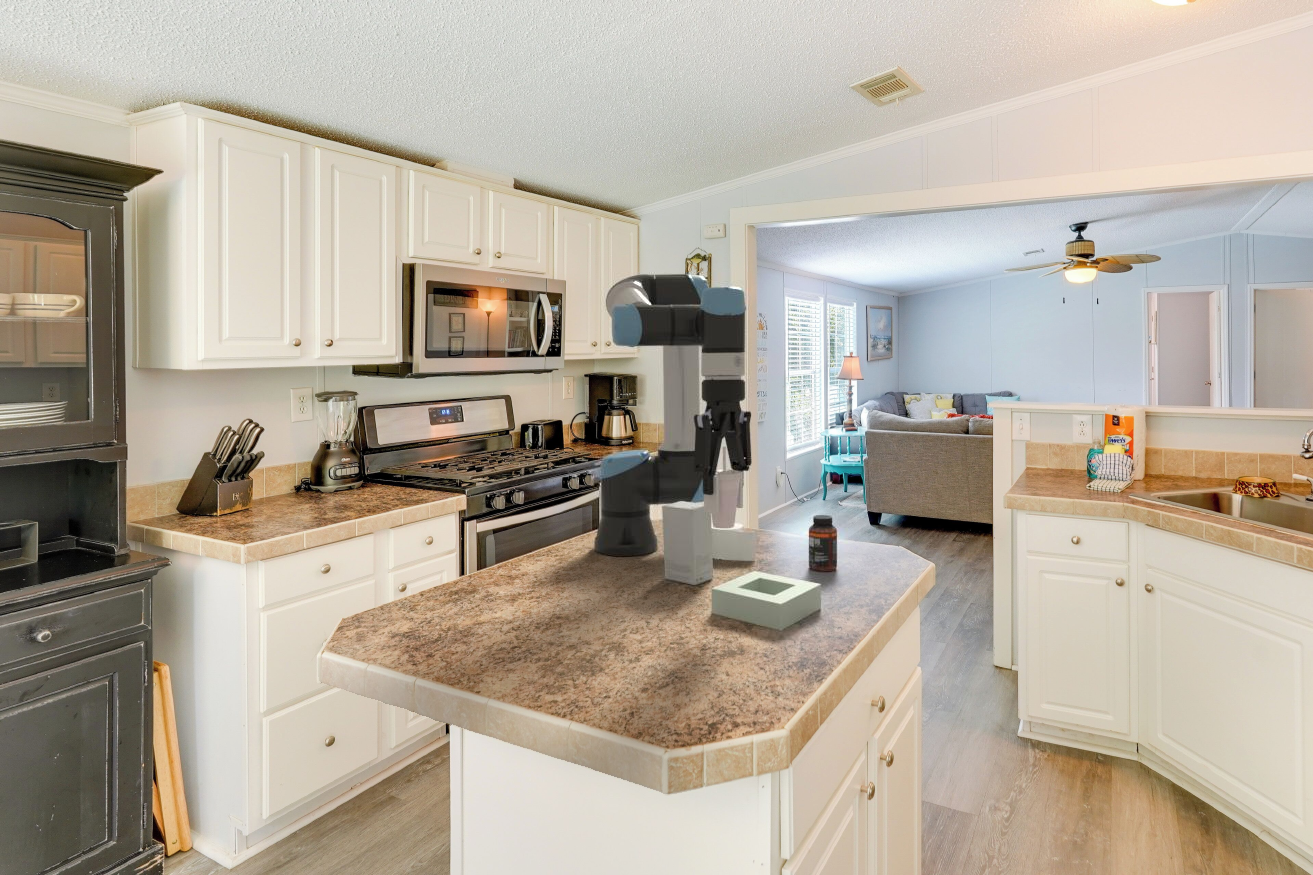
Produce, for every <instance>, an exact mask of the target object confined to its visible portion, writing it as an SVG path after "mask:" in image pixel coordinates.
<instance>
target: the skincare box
mask: <svg viewBox="0 0 1313 875" xmlns="http://www.w3.org/2000/svg"><path fill="white" fill-rule="evenodd" d="M661 513H662V532H663V533H662V534H663V535H662V536H663V557H664V558H663V559H664V579H665V580H670V581H674V582H677V583H683V584H687V585H690V586H691V585H692V586H697V585H700V584H702V583H706V582H708V581H710V580H712V579H713V578H714V565H713V564H714V563H713V558H712V530H711V523H712V513H706V512H704V503H702V502H699V503H692V502H685V501H680V502H676V503H672V504H663V505H662V506H661Z"/></svg>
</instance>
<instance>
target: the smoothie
mask: <svg viewBox="0 0 1313 875" xmlns="http://www.w3.org/2000/svg"><path fill="white" fill-rule="evenodd" d="M741 473H742V472H740V471H737V470H733V469H729V468H728V469H727V446H722V469H716V474H715V476H719V514H712V513H711V522H712V523H713V527H715V528H733V527H734V523H736V513H737V508H736V507H737V499H738V491H739V482H740V478H742V476H741Z"/></svg>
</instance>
